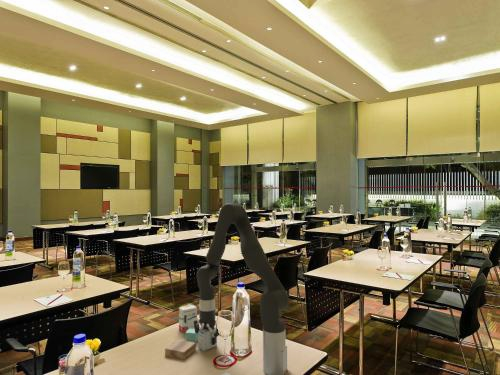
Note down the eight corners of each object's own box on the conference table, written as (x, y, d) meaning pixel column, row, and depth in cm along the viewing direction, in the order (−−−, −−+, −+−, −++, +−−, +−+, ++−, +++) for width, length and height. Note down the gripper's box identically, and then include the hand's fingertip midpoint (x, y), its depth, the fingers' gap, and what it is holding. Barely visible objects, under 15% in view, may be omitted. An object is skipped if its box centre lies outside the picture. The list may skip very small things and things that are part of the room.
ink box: (182, 332, 187) (182, 309, 187) (178, 329, 191) (178, 307, 191) (197, 328, 191) (197, 306, 191) (193, 325, 196) (193, 304, 195)
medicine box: (211, 343, 174) (211, 325, 174) (217, 346, 171) (217, 327, 171) (198, 348, 169) (197, 329, 168) (203, 351, 165) (203, 332, 165)
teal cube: (198, 339, 179) (198, 329, 179) (195, 343, 174) (195, 333, 174) (189, 338, 180) (189, 328, 180) (185, 342, 175) (185, 332, 175)
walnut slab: (195, 350, 167) (195, 342, 167) (184, 360, 158) (184, 352, 158) (177, 346, 171) (177, 339, 171) (165, 356, 162) (165, 348, 162)
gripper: (224, 307, 170) (224, 342, 170) (198, 303, 176) (198, 338, 176) (217, 312, 163) (217, 349, 163) (189, 308, 169) (190, 344, 169)
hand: (207, 343), depth 170 cm, fingers closed on medicine box, 5 cm apart
